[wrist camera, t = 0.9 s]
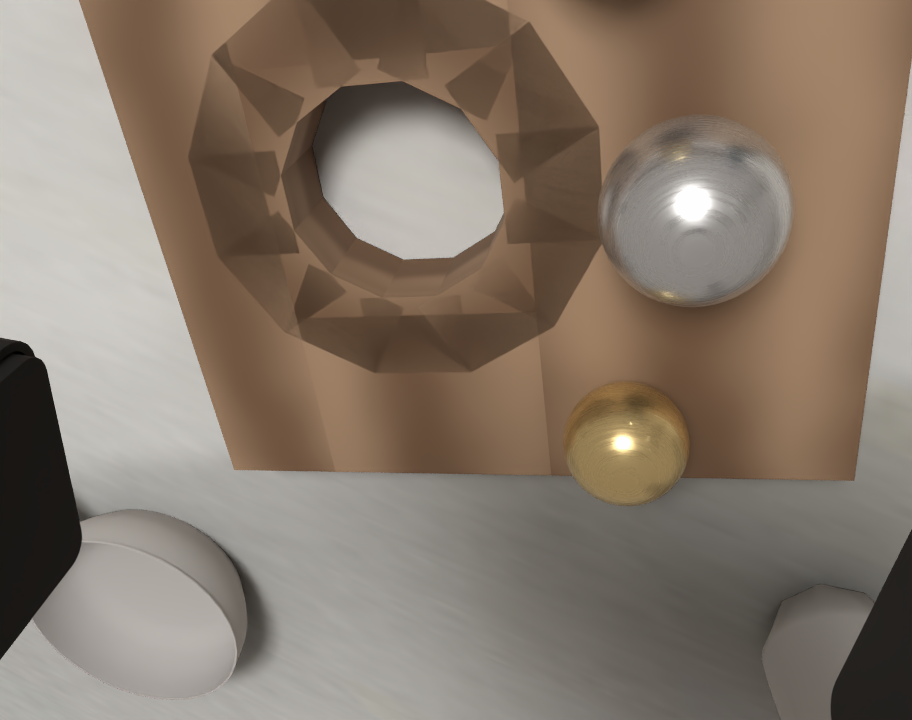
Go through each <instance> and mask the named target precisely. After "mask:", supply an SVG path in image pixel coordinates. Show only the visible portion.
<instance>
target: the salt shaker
mask: <svg viewBox="0 0 912 720" xmlns="http://www.w3.org/2000/svg"><path fill="white" fill-rule="evenodd" d="M874 604H875V603H874V602H873V601H872V600H871V599H870V598H869V597H868V596H867V595H866V594H865V593H862V592H857V591H852V590H847V589H842V588H837V587H833V586H828V585H823V584H818V585H816V586H814V587H812V588H810V589H808V590H805V591H803V592H801V593H799V594H797V595H795V596H792V597H790V598H788V599H786V600H784V601H782V602H781V605H780V608H779V610H778V613H777V616H776V618H775V621H774V624H773V627H772V629H771V632H770V634H769V636H768V638H767V641H766V643H765V645H764V647H763V650H762V663H763V667H764V671H765V674H766V678H767V682H768V685H769V688H770V691H771V694H772V696H773V699H774V702H775V705H776V708H777V711H778V714H779V717H780V720H831V706H830V705H831V695H832V690H833V687H834V684H835V681H836V679H837V677H838V675H839V673H840V671H841V669H842V668H843V666H844V664H845V662H846V660H847V658H848V656H849V654H850V652H851V650H852V648H853V646H854V644H855V642H856V640H857V638H858V636H859V634H860V632H861V630H862V628H863V626H864V624H865V622H866V620H867V618H868V616H869V614H870V612H871V610H872V608H873V606H874Z"/></svg>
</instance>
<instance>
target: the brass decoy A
mask: <svg viewBox="0 0 912 720" xmlns="http://www.w3.org/2000/svg"><path fill="white" fill-rule="evenodd" d="M689 448H690V441H689V433H688V429H687V425H686V423H685V421H684V418H683V416H682V414H681V412H680V411H679V409H678V408H677V407H676V405H675V404H674V403H673V402H672V401H671V400H670V399H669V398H668V397H667V396H666V395H664V394H663V393H661V392H660V391H658V390H657V389H655V388H653V387H651V386H648V385H645V384H642V383H637V382H629V381H621V382H613V383H609V384H605V385H602V386H600V387H598V388H596V389H594V390H592V391H591V392H589V393H588V394H586V395H585V396H584V397H583V398H582V399H581V400H580V401H579V402H578V403H577V404H576V406H575V407H574V408H573V410H572V412H571V414H570V415H569V417H568V419H567V422H566V425H565V429H564V435H563V450H564V456H565V460H566V463H567V466H568V468H569V470H570V472H571V474H572V476H573V477H574V478H575V480H576V481H577V483H578V484H579V485H580V486H581V487H582V488H583V489H584V490H585V491H587V492H588V493H589V494H591V495H592V496H594V497H595V498H597V499H599V500H601V501H604V502H606V503H610V504H613V505H619V506H636V505H642V504H646V503H649V502H652V501H654V500H656V499H658V498H659V497H661V496H663V495H664V494H666V493H667V492H668V491H669V490H670V489H671V488H672V487H673V486H674V485H675V484H676V483H677V482H678V480H679V479H680V477H681V475H682V473H683V472H684V469H685V467H686V464H687V460H688V457H689Z"/></svg>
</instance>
